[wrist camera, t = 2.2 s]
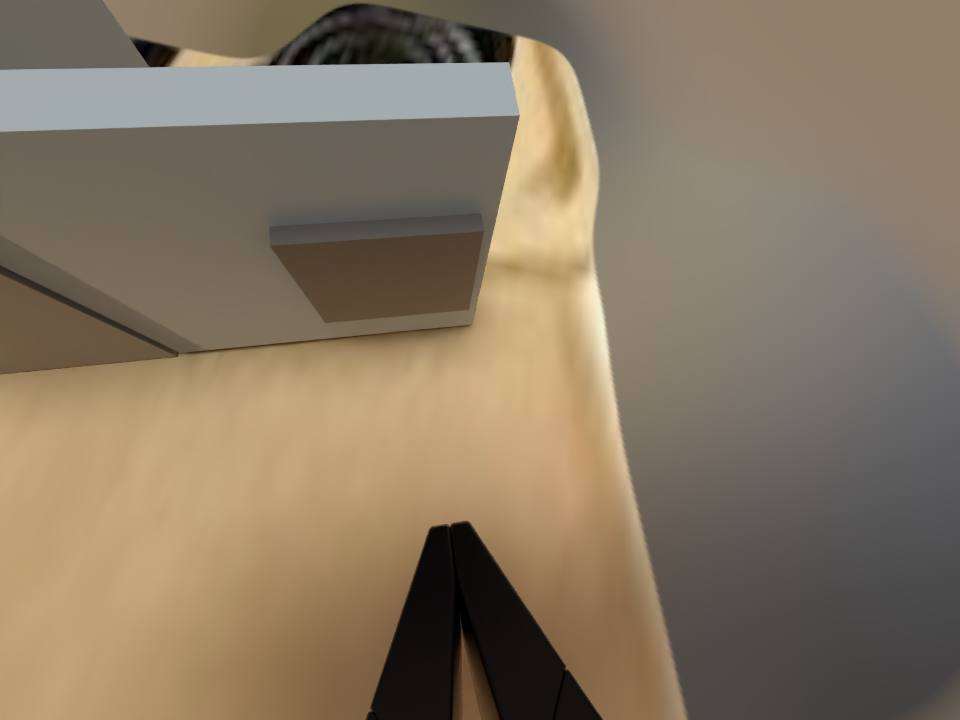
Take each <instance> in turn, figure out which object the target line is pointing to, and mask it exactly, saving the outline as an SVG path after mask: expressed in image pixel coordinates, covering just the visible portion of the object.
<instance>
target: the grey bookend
mask: <svg viewBox="0 0 960 720" xmlns="http://www.w3.org/2000/svg"><path fill="white" fill-rule="evenodd" d="M519 116H520V115H519V110H518V105H517V100H516V95H515V90H514V85H513V80H512V75H511V70H510V65H509V63H440V64H370V65H299V66H229V67H158V68H149V66H148V65H147V63H146V62H145V60H144V59H143V58H142V56H141V55H140V53H139V52H138V50H137V49H136V48H135V46H134V45H133V43H132V42H131V40H130V39H129V38H128V36H127V35H126V33H125V32H124V31H123V29H122V28H121V26H120V25H119V23H118V22H117V21H116V19H115V18H114V16H113V15H112V13H111V12H110V11H109V9H108V8H107V6H106V5H105V3H104V2H103V1H102V0H0V265H1V266H3V267H5V268H7V269H9V270H11V271H13V272H15V273H17V274H19V275H21V276H23V277H25V278H27V279H30V280H32V281H34V282H36V283H38V284H40V285H42V286H44V287H46V288H48V289H50V290H52V291H54V292H56V293H58V294H60V295H62V296H64V297H66V298H69V299H71V300H73V301H75V302H77V303H79V304H81V305H83V306H85V307H87V308H89V309H91V310H93V311H95V312H97V313H99V314H101V315H103V316H105V317H107V318H110V319H112V320H114V321H116V322H118V323H120V324H122V325H124V326H126V327H128V328H130V329H132V330H134V331H136V332H138V333H140V334H142V335H144V336H146V337H148V338H151V339H153V340H155V341H157V342H159V343H161V344H163V345H165V346H167V347H169V348H171V349H173V350H175V351H177V352H179V353H183V352H194V351H204V350H214V349H224V348H235V347H245V346H255V345H265V344H276V343H286V342H296V341H307V340H317V339H327V338H337V337H348V336H358V335H368V334H378V333H389V332H399V331H409V330H419V329H430V328H440V327H450V326H461V325H471V324H472V323H473V318H474V314H475V310H476V305H477V301H478V296H479V292H480V288H481V283H482V279H483V274H484V270H485V266H486V261H487V257H488V252H489V248H490V244H491V239H492V235H493V230H494V226H495V222H496V217H497V213H498V208H499V204H500V200H501V195H502V191H503V186H504V182H505V178H506V173H507V169H508V164H509V160H510V156H511V151H512V147H513V142H514V138H515V134H516V129H517V125H518V120H519Z"/></svg>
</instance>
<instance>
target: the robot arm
mask: <svg viewBox="0 0 960 720" xmlns="http://www.w3.org/2000/svg"><path fill="white" fill-rule="evenodd" d="M460 621H461V624H460ZM461 628H462V635H463V640H464V645H465V649H466V654H467V658H468V662H469V666H470V671H471V675H472V679H473V684H474V688H475V692H476V697H477V701H478V705H479V709H480V714H481V718H482V720H603V719H602V717H601V716H600V714H599V713H598V712H597V710H596V709H595V707H594V706H593V705H592V703H591V702H590V700H589V699H588V697H587V696H586V695H585V693H584V692H583V690H582V689H581V687H580V686H579V684H578V683H577V681H576V680H575V678H574V677H573V675H572V674H571V672H570V671H569V670H568V669H566V670H565V668H566V666H565V664H564V662H563V661H562V659H561V658H560V656H559V655H558V653H557V652H556V650H555V649H554V647H553V646H552V644H551V643H550V641H549V640H548V638H547V637H546V635H545V634H544V632H543V631H542V629H541V628H540V626H539V625H538V623H537V622H536V620H535V619H534V617H533V616H532V614H531V613H530V611H529V610H528V608H527V607H526V605H525V604H524V602H523V601H522V599H521V598H520V596H519V595H518V594H517V592H516V591H515V589H514V588H513V586H512V585H511V583H510V582H509V580H508V579H507V577H506V576H505V574H504V573H503V571H502V570H501V568H500V567H499V565H498V564H497V562H496V561H495V559H494V558H493V556H492V555H491V553H490V552H489V550H488V549H487V547H486V546H485V544H484V543H483V541H482V540H481V538H480V537H479V535H478V534H477V532H476V531H475V529H474V528H473V526H472V525H471V523H470V522H468V521H462V522H456V523H452V524H451V525H450V527H449V525H447V524H443V525H437V526H432V527H431V528H430V529H429V531H428V534H427V537H426V540H425V543H424V546H423V549H422V552H421V555H420V558H419V561H418V564H417V567H416V570H415V573H414V576H413V579H412V582H411V585H410V588H409V591H408V594H407V597H406V600H405V603H404V606H403V609H402V612H401V615H400V618H399V621H398V624H397V628H396V631H395V634H394V637H393V640H392V643H391V646H390V649H389V652H388V655H387V658H386V661H385V664H384V667H383V670H382V673H381V676H380V679H379V682H378V685H377V688H376V691H375V694H374V697H373V700H372V703H371V706H370V708H371V711H369V712H368V714H367V717H366V720H463V718H462V637H461Z"/></svg>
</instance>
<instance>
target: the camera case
mask: <svg viewBox="0 0 960 720" xmlns="http://www.w3.org/2000/svg"><path fill="white" fill-rule="evenodd" d="M169 357H177V351H175V350H173V349H171V348H169V347H167V346H165V345H163V344H161V343H159V342H157V341H155V340H153V339H151V338H148V337H146V336H144V335H142V334H140V333H138V332H136V331H134V330H132V329H130V328H128V327H126V326H124V325H122V324H120V323H118V322H116V321H114V320H112V319H110V318H107V317H105V316H103V315H101V314H99V313H97V312H95V311H93V310H91V309H89V308H87V307H85V306H83V305H81V304H79V303H77V302H75V301H73V300H71V299H69V298H66V297H64V296H62V295H60V294H58V293H56V292H54V291H52V290H50V289H48V288H46V287H44V286H42V285H40V284H38V283H36V282H34V281H32V280H30V279H27V278H25V277H23V276H21V275H19V274H17V273H15V272H13V271H11V270H9V269H7V268H5V267H3V266H1V265H0V374H6V373H16V372H26V371H37V370H47V369H57V368H67V367H77V366H87V365H98V364H108V363H118V362H128V361H138V360H148V359H158V358H169Z"/></svg>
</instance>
